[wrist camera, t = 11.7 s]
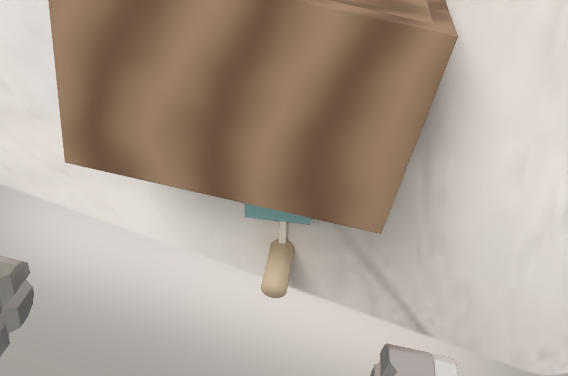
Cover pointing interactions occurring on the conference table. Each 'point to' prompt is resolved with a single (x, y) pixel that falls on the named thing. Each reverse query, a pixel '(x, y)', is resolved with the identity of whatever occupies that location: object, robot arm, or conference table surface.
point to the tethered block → (277, 250)
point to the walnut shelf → (253, 96)
